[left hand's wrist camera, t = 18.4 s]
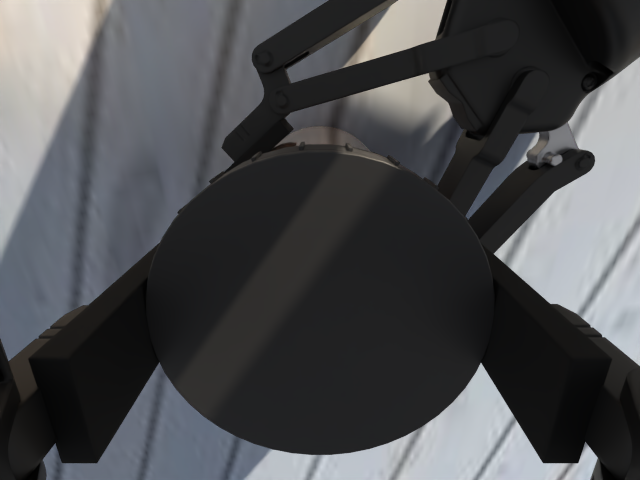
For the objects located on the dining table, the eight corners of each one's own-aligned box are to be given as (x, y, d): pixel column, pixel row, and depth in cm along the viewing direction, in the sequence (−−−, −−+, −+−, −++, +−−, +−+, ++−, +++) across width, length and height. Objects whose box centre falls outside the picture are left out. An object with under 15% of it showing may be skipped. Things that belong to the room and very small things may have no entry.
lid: (532, 309, 12) (565, 340, 11) (309, 457, 14) (308, 500, 13) (336, 60, 10) (340, 52, 8) (102, 286, 12) (69, 315, 10)
